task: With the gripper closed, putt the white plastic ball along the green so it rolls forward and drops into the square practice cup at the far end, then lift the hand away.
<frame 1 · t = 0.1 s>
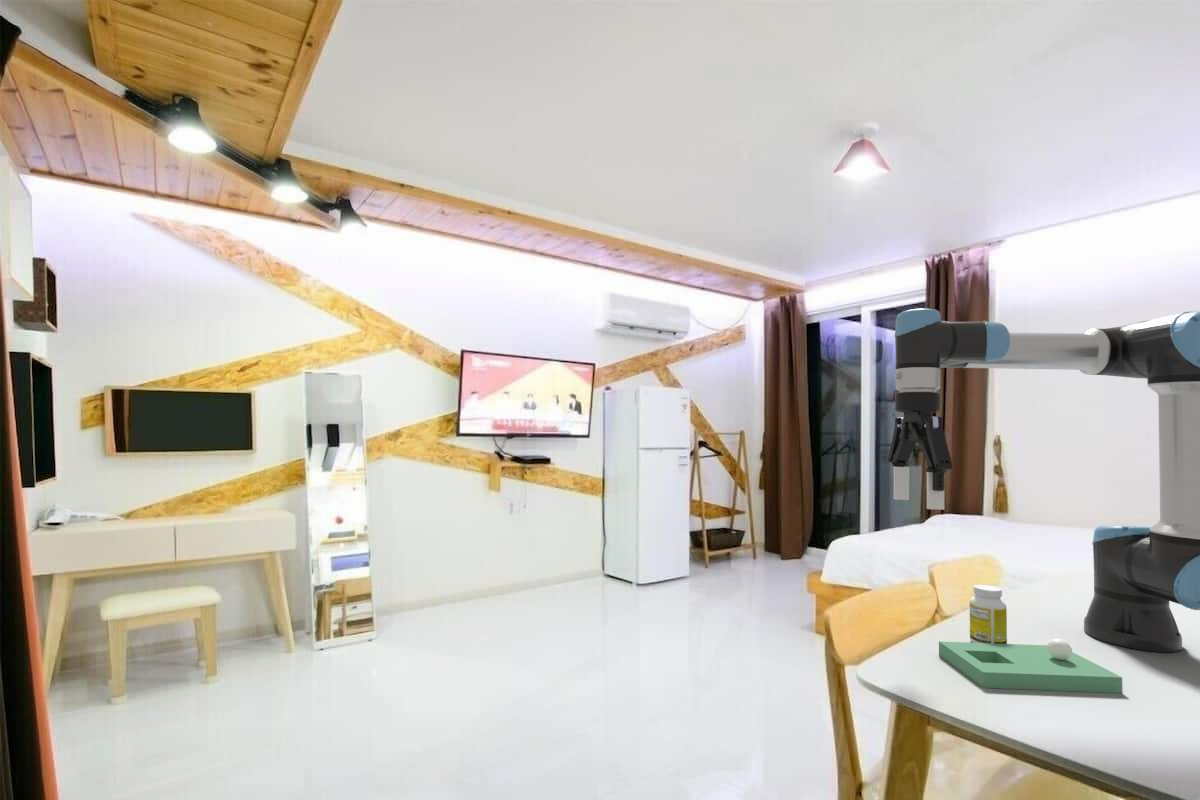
hand: (917, 504, 114), 28 cm above the table, fingers open, 13 cm apart
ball: (1059, 649, 105), point 4 cm above the table, touching green
pill bottle: (988, 645, 119), on the table
green: (1024, 672, 105), on the table
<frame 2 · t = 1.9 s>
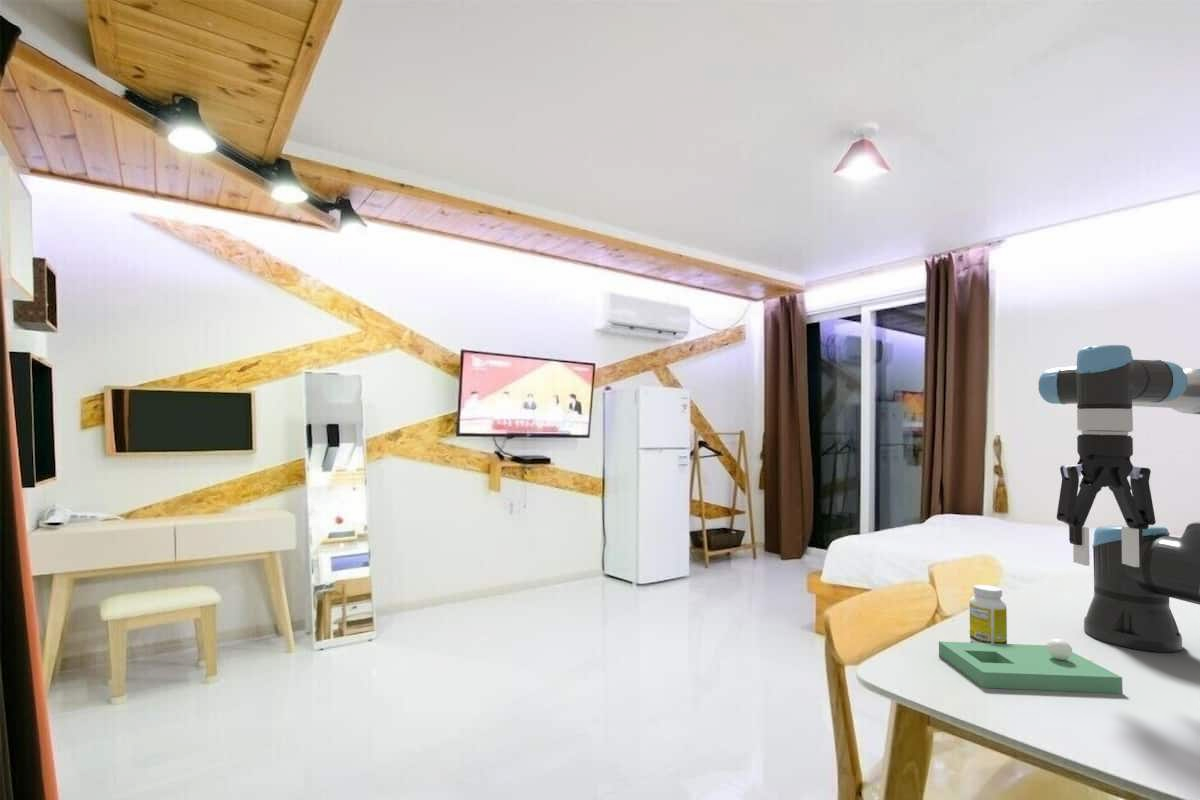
hand: (1105, 564, 105), 19 cm above the table, fingers open, 8 cm apart
nothing on the table moved.
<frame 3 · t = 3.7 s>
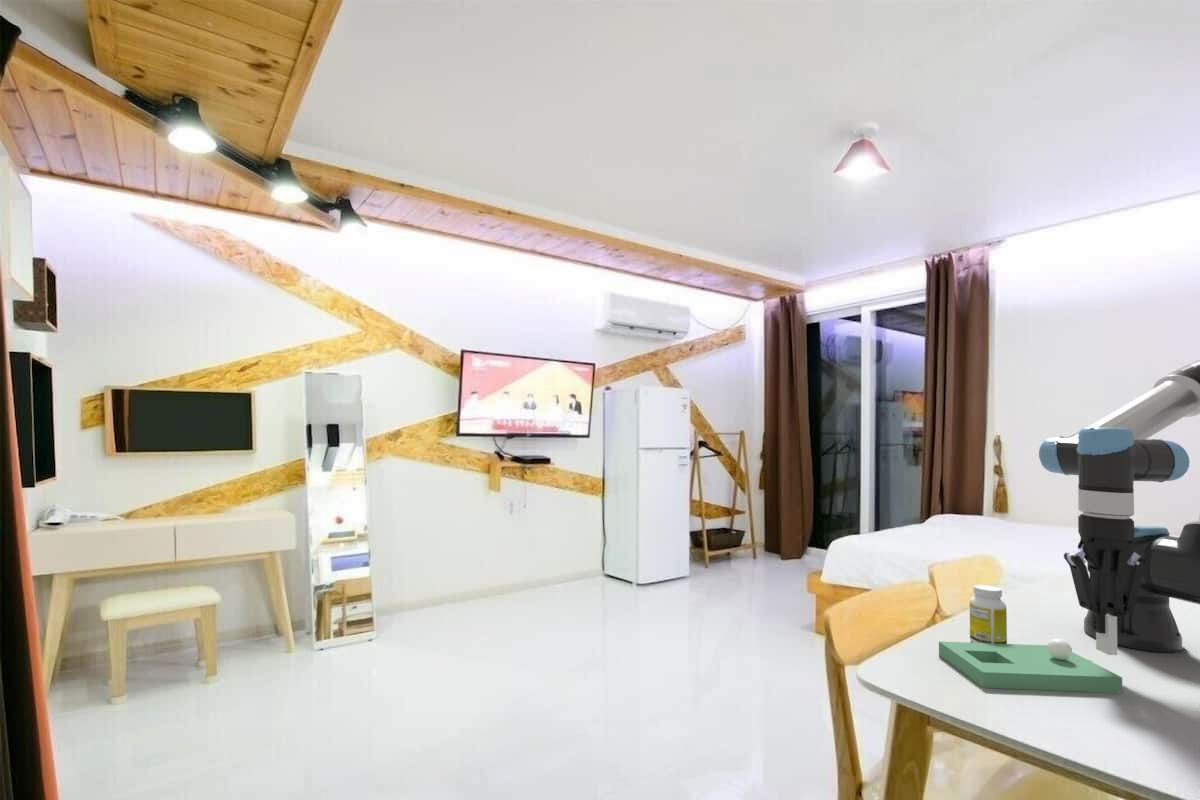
hand: (1106, 651, 105), 4 cm above the table, fingers closed
nothing on the table moved.
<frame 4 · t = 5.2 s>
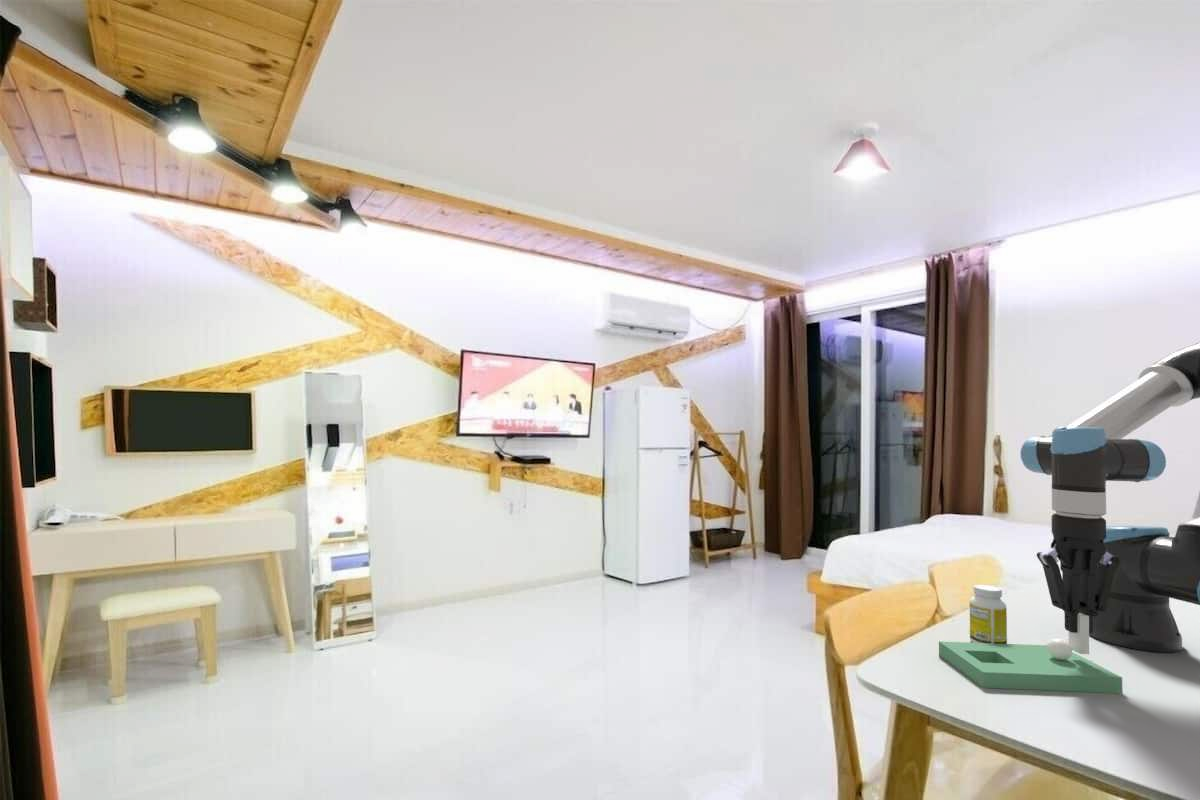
hand: (1078, 651, 105), 4 cm above the table, fingers closed
nothing on the table moved.
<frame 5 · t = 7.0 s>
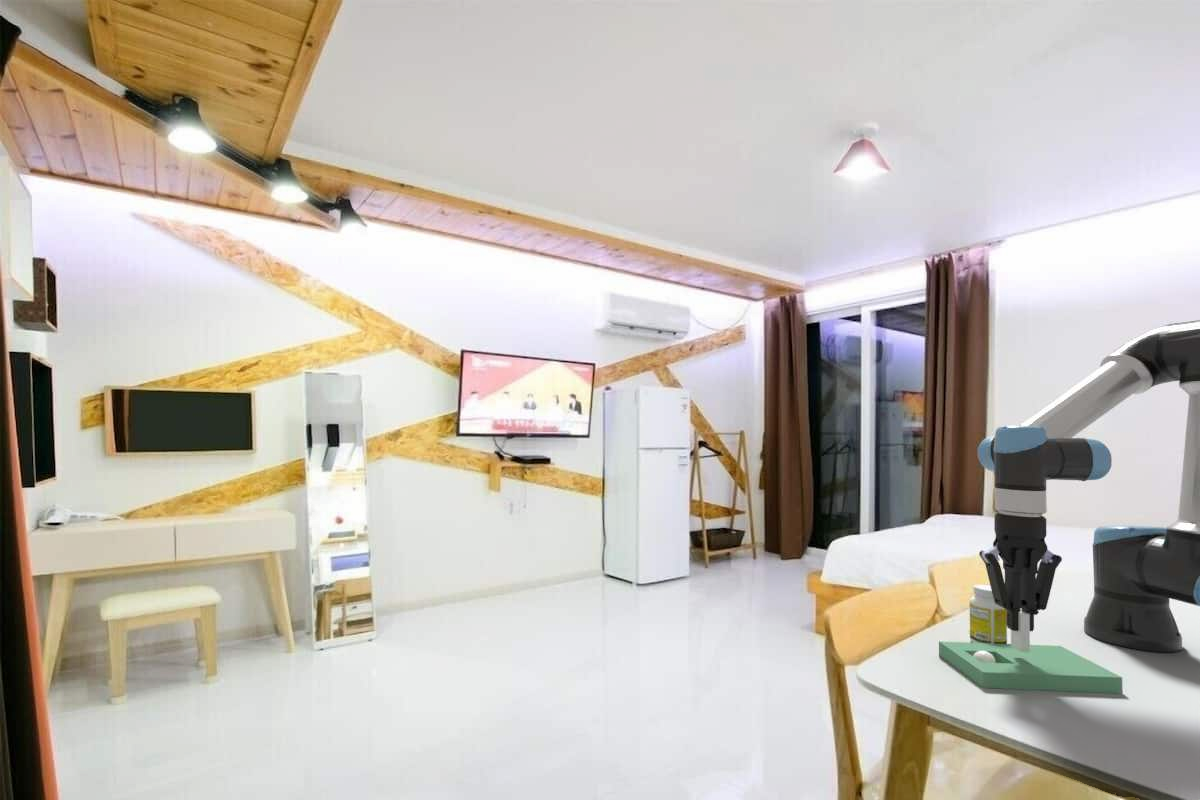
hand: (1020, 649, 105), 4 cm above the table, fingers closed
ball: (984, 661, 106), point 2 cm above the table, tilted 80°
everything else where it was.
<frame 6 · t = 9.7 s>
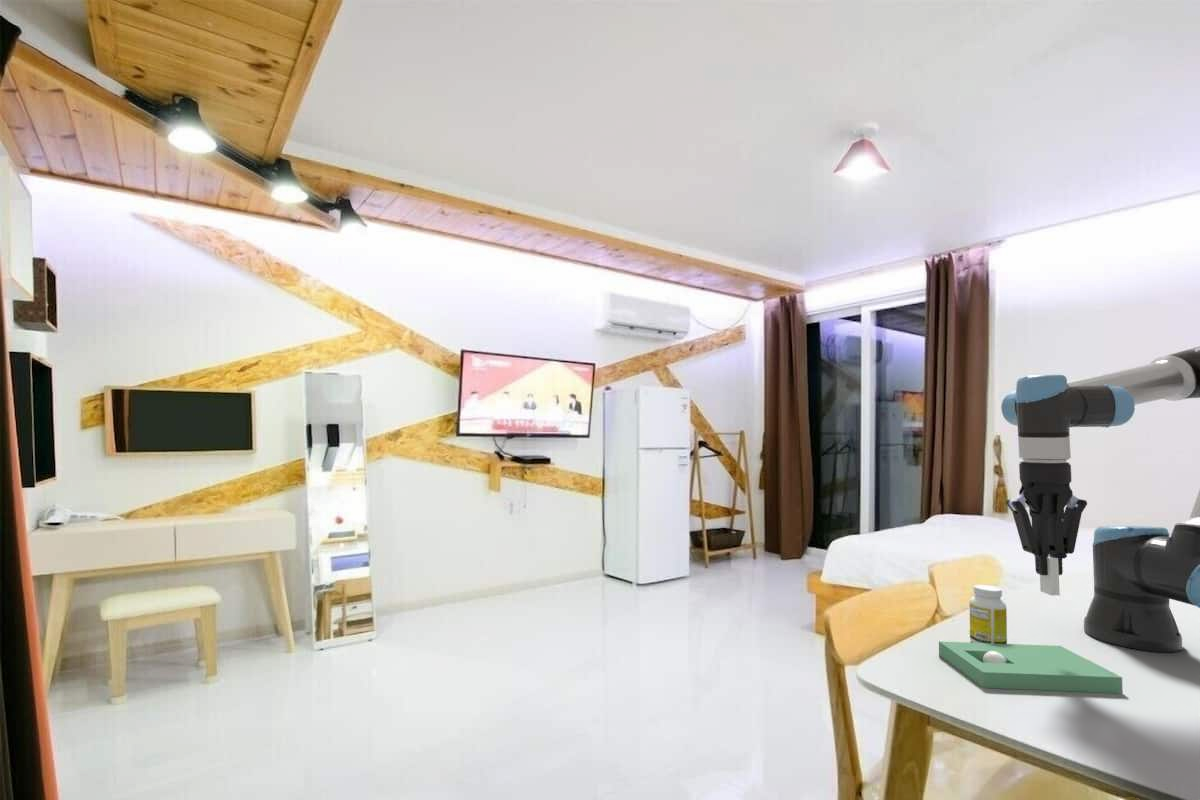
hand: (1050, 593, 108), 13 cm above the table, fingers closed
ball: (994, 661, 105), point 2 cm above the table, tilted 23°
everything else where it was.
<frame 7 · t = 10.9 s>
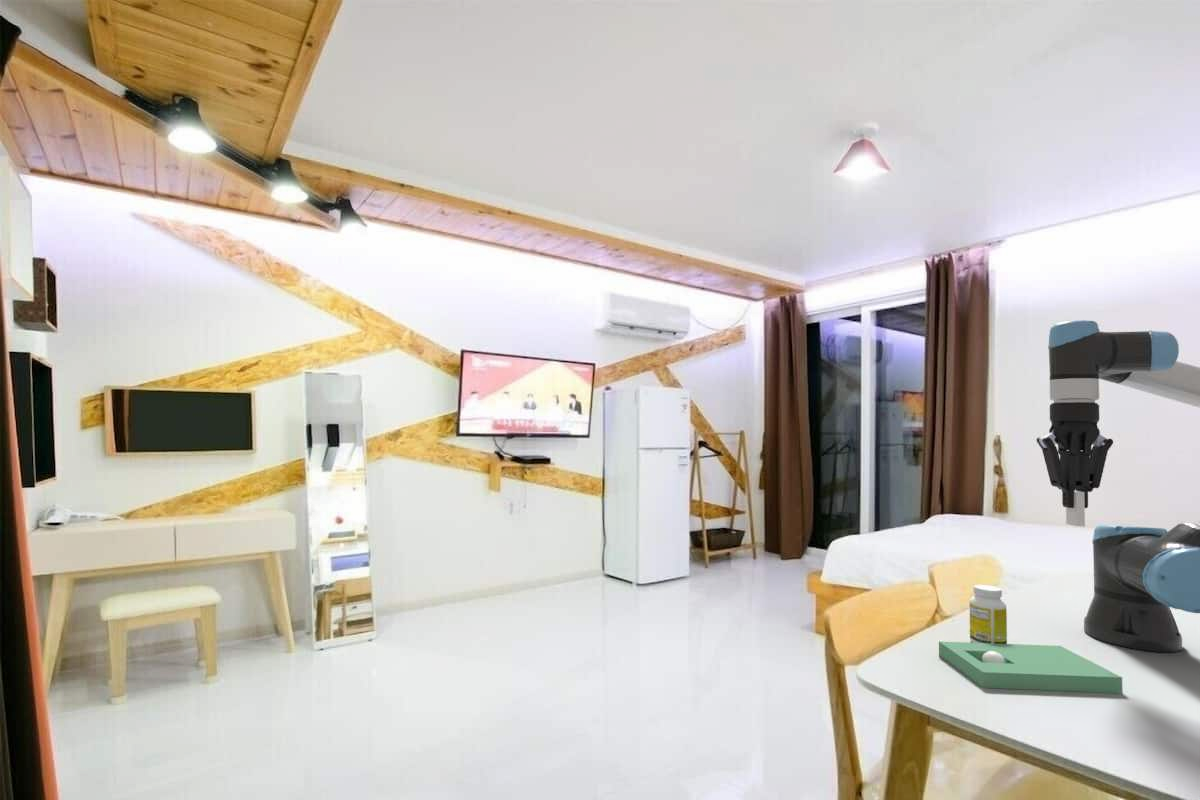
hand: (1075, 525, 115), 24 cm above the table, fingers closed
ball: (993, 661, 105), point 2 cm above the table, tilted 29°
everything else where it was.
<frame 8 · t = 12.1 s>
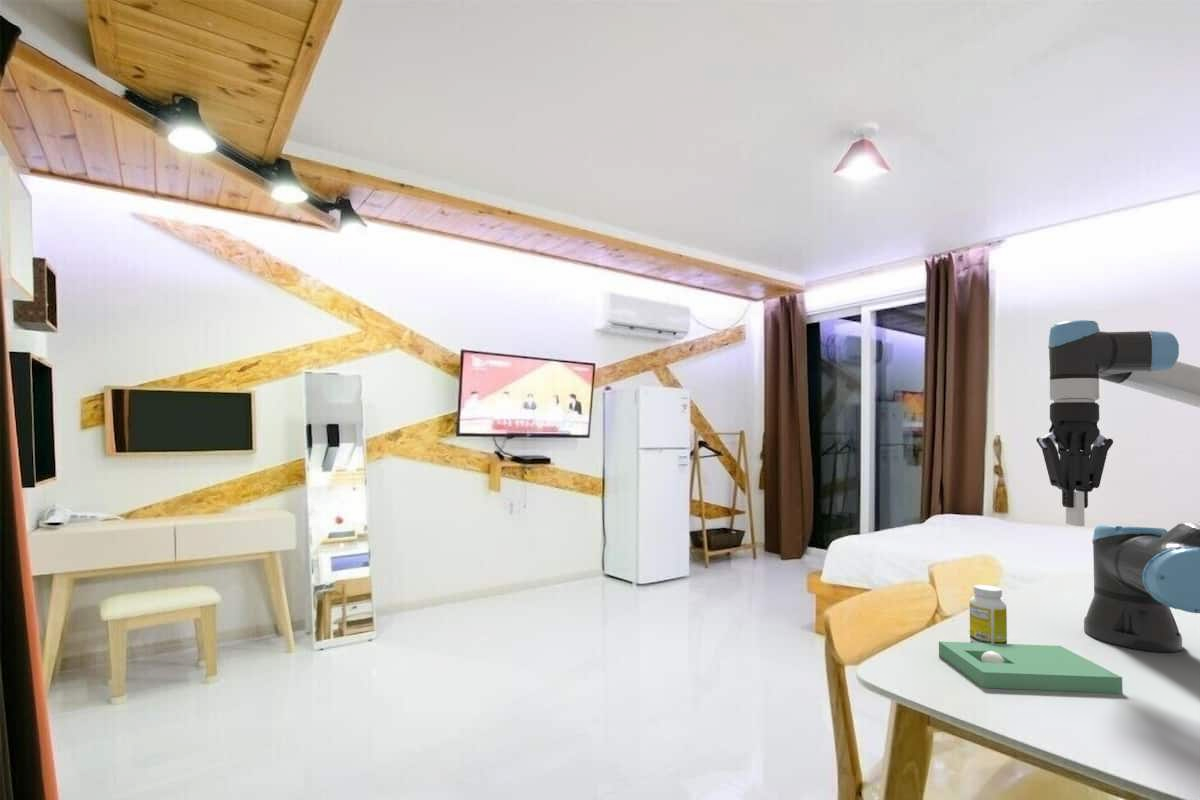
hand: (1075, 524, 116), 24 cm above the table, fingers closed
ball: (992, 661, 105), point 2 cm above the table, tilted 34°
everything else where it was.
at the end: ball 0.6 cm from the target spot on the green, point 1.7 cm above the green's base; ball touching table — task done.
